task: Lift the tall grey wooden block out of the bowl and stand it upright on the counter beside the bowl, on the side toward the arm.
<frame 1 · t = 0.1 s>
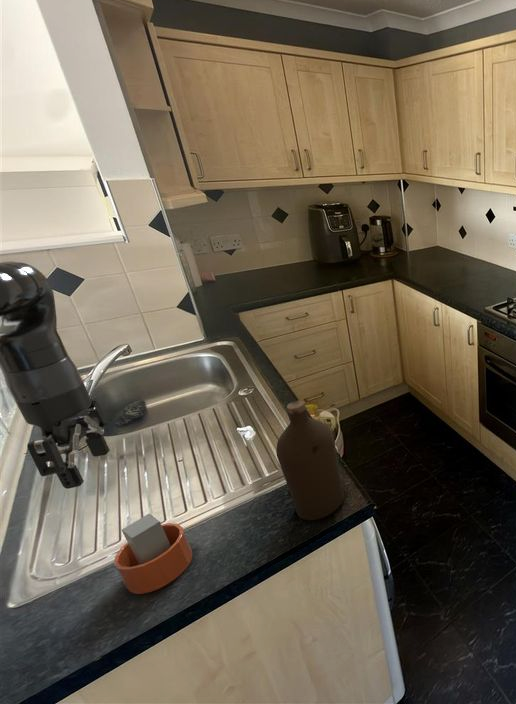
hand: (89, 469, 70), 20 cm above the worktop, tool pointing down, fingers open, 8 cm apart
bowl: (161, 568, 74), on the worktop
olive oil: (320, 503, 88), on the worktop
block: (160, 566, 74), point 1 cm above the worktop, touching bowl
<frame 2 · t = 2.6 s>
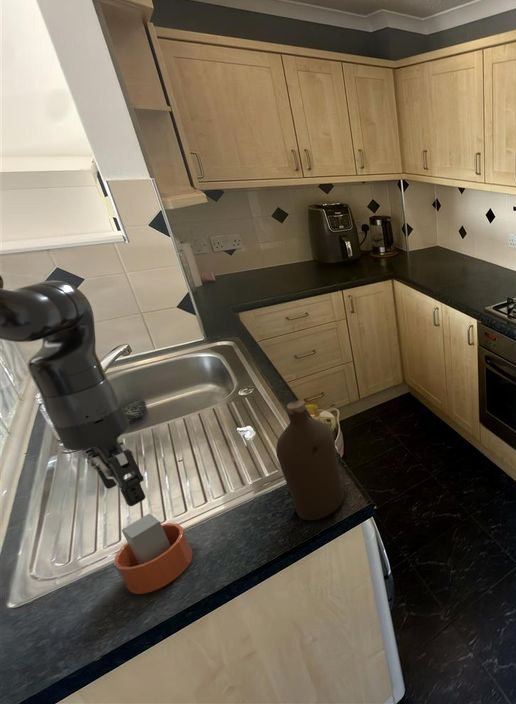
hand: (125, 493, 68), 18 cm above the worktop, tool pointing down, fingers open, 8 cm apart
nothing on the worktop moved.
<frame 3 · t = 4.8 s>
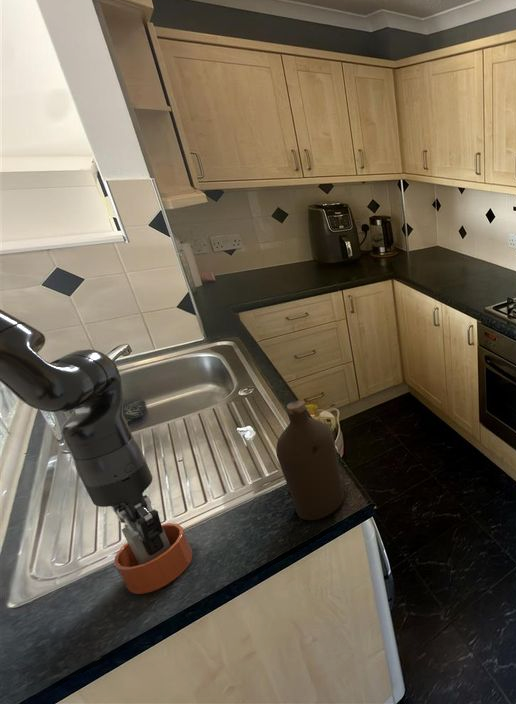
hand: (150, 545, 72), 6 cm above the worktop, tool pointing down, fingers closed on block, 4 cm apart
block: (160, 566, 74), point 1 cm above the worktop, touching bowl, gripper
everything else where it was.
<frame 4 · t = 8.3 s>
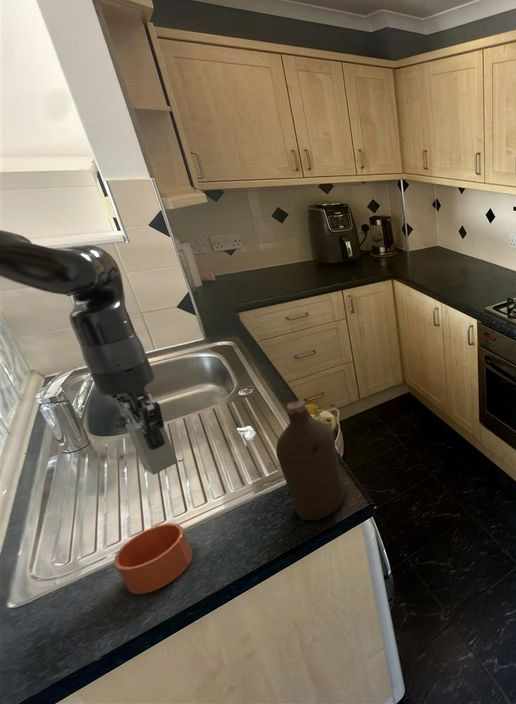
hand: (151, 443, 76), 20 cm above the worktop, tool pointing down, fingers closed on block, 4 cm apart
block: (161, 465, 78), point 15 cm above the worktop, touching gripper
everything else where it was.
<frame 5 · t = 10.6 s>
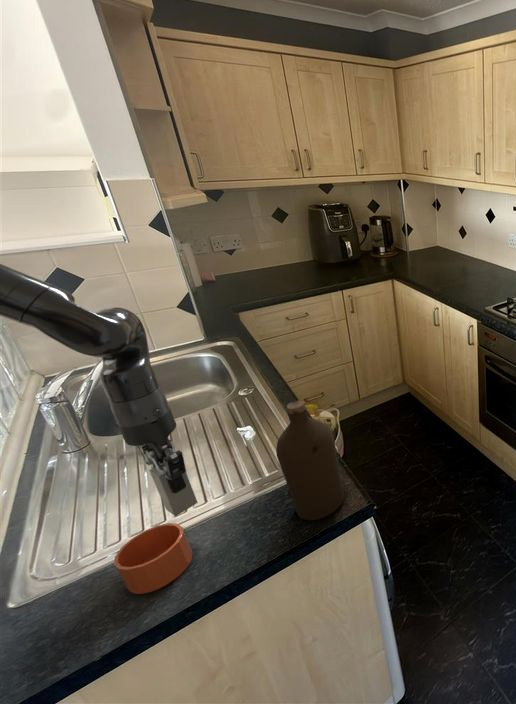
hand: (173, 486, 81), 9 cm above the worktop, tool pointing down, fingers closed on block, 4 cm apart
block: (182, 506, 83), point 4 cm above the worktop, touching gripper
everything else where it was.
when the fingers open (5 cm above the worktop, at t = 12.0 s): block stays where it is, on the worktop.
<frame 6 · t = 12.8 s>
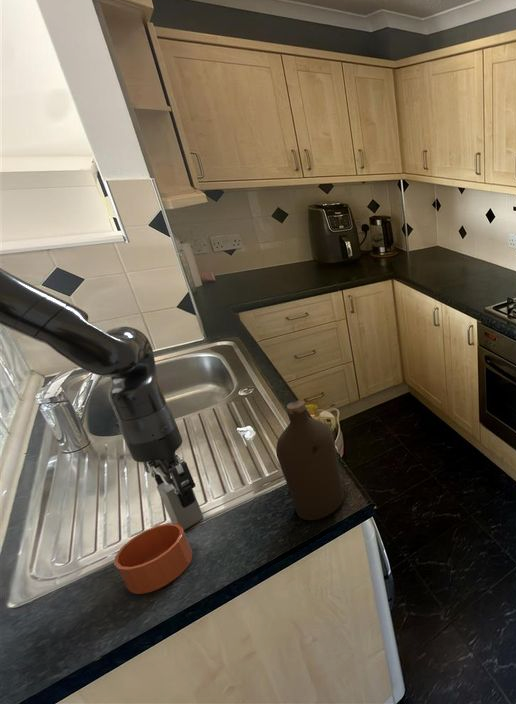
hand: (178, 497, 82), 6 cm above the worktop, tool pointing down, fingers open, 8 cm apart
block: (188, 521, 84), on the worktop
everything else where it was.
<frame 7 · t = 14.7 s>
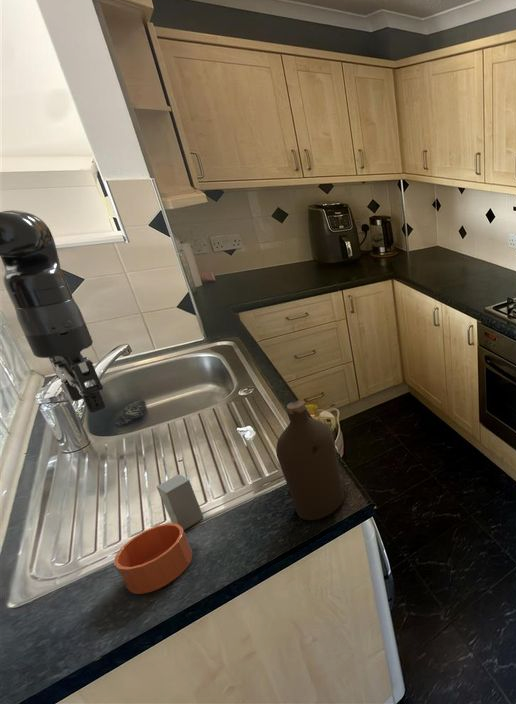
hand: (88, 404, 78), 27 cm above the worktop, tool pointing down, fingers open, 8 cm apart
nothing on the worktop moved.
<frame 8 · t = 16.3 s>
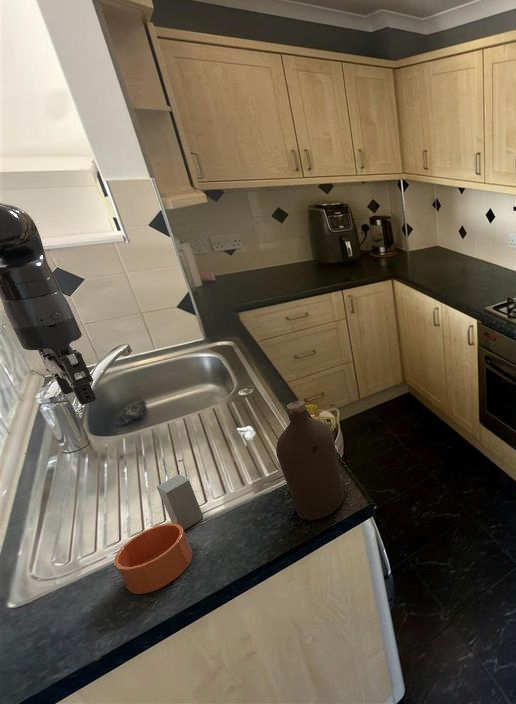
hand: (79, 397, 78), 28 cm above the worktop, tool pointing down, fingers open, 8 cm apart
nothing on the worktop moved.
at the end: block 0.0 cm from the target spot, on the worktop; block tilted 0°; the gripper is holding nothing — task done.
